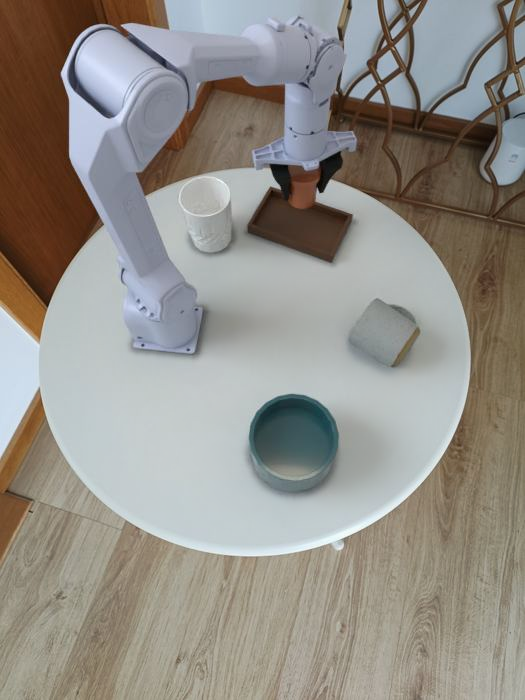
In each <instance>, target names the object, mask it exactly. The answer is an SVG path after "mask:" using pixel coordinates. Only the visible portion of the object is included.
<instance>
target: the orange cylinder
mask: <svg viewBox="0 0 525 700" xmlns="http://www.w3.org/2000/svg"><path fill="white" fill-rule="evenodd" d="M288 170H289V172H290V175H291V179H290V182H289V200H288V201H289V203H290V204H291V205H292V206H293V207H295V208H298V209H306V208H309V207H311V206H312V205H313V204H314V203H315V202H317V201H316V200H317V193H318V188H317V183H318V181H319V180H320V178H321V166H320V164H319V167H318V168H317V169H314V170H309V171H306V170H305V169H304V167H303V166H299V165H288Z"/></svg>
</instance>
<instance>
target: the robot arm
mask: <svg viewBox="0 0 525 700" xmlns="http://www.w3.org/2000/svg"><path fill="white" fill-rule="evenodd" d="M120 27H121V28H123V29H124V30H125V31H126V32H127V34H128V36H126V35H125V34H124V33H123V32H122V31H120V30H119V29H118V28H117V27H115V26H114V25H110V24H105V23H99V24H95V25H92V26H89V27H88V28H86V29H85V30H83V31H82V32H81V33H80V34H79V35H78V36H77V38H76V39H75V40H74V42H73V45H72V47H71V49H70V51H69V54H68V56H67V58H66V60H65V62H64V65H63V67H62V70H61V71H60V77H61V79H62V82H63V85H64V88H65V91H66V94H67V97H68V109H69V110H68V154H69V157H68V158H69V160H70V163H71V165H72V167H73V169H74V171H75V173H76V174H77V176H78V178H79V180H80V182H81V184H82V186H83V188H84V189H85V191H86V193H87V195H88V197H89V200H90V201H91V203H92V205H93V207H94V208H95V210H96V212H97V214H98V216H99V217H100V219H101V221H102V223H103V226H105V229H106V231H107V232H108V235H109V237H110V238H111V240H112V242H113V244H114V246H115V248H116V249H117V251H118V253H119V254H118V255H117V256H116V258H115V260H116V262H117V263H118V279H119V281H120V282H121V283H122V284H123V285H124V286H126V287H127V288H128V289H127V290H126V292H125V295H124V298H123V299H124V300H123V305H122V316H123V321H124V324H125V327H126V328H127V330H128V332H129V333H130V336H131V337H132V339H133V345H132V346H133V348H134V349H136V350H137V349H138V350H147V351H158V352H167V353H176V354H188V355H193V354H195V353H196V350H197V345H198V339H199V335H200V329H201V324H202V319H203V314H204V309H203V307H201V306H195V304H196V301H197V297H198V292H197V288H195V286H193V285H192V284H189V282H188V281H186V278H185V277H184V275H183V274H182V273H181V272H180V270H179V269H178V267H176V265H175V264H174V262H173V261H172V260H171V259H170V256H169V255H168V251H167V249H166V247H165V244H164V241H163V239H162V237H161V234H160V231H159V228H158V226H157V223H156V221H155V219H154V216H153V212H152V211H151V208H150V206H149V203H148V201H147V198H146V196H145V193H144V191H143V187H142V185H141V183H140V180H139V177H138V175H137V173H142V172H143V171H145V169H146V168H147V167H148V165H149V164H150V163H151V162H152V160H153V159H154V158H155V157H156V156H157V154H158V153H159V152H160V150H161V149H162V148H163V147H164V146H165V145H166V143H167V142H168V141H169V139H171V137H172V136H173V135H174V134H175V132H176V131H177V129H178V128H179V127H180V125H181V123H182V122H183V120H184V118H185V116H186V113H187V110H188V111H189V112H191V111H193V110H194V108H195V105H196V100H197V91H198V90H197V89H198V84H199V83H206V82H212V81H218V80H224V79H230V78H237V77H242V78H243V79H244V80H245V82H246V83H248V84H249V85H251V86H253V87H268V86H280V85H284V127H283V128H284V131H283V132H284V136H282V137H280V138H278V139H277V140H274V141H272V142H271V143H269V144H267V145H265V146H263V147H260V148H256V149H252V150H251V153H252V163H253V166H254V169H255V171H262V170H263V169H264V166H268V165H269V168H270V171H271V175H272V177H273V179H274V182H276V183H277V185H278V186H279V187H280V190H281V193H282V196H283V199H284V200H289V182H290V179H291V175H290V172H289V170H288V165H299V166H303V167H304V169H305V170H306V171H309V170H314V169H317V168H318V167H319V164H320V166H321V178H320V180H319V181H318V183H317V192H318V193H319V194H323V193H325V190H326V187H327V186H328V184H329V182H330V180H331V179H332V177H333V176H334V175H335V174H336V173H337V172H338V171H339V170H341V169H342V167H343V163H344V158H343V157H342V151H344V150H346V151H347V153H353V152H356V150H357V144H358V139H357V137H356V135H355V132H354V131H353V130H349V131H333V130H332V131H331V130H328V126H329V118H330V107H331V97H332V96H333V95H334V94H335V90H336V89H337V83H338V79H339V76H340V74H341V73H342V71H343V68H344V66H345V63H346V60H347V53H345V51H344V48H343V45H342V42H341V40H340V39H339V38H338V37H337V36H335V35H333V34H331V33H330V32H328V31H327V30H326V29H324V28H322V27H321V26H319V25H317V24H315V23H314V22H312V21H311V20H310V19H308V18H304V17H302V16H300V15H299V14H296V15H294V16H292V17H291V18H290V19H289V20H287V22H286V23H285V22H283V21H282V20H280V19H278V18H277V17H268V19H267V21H266V23H254V24H250V25H249V26H248V27H246V28H245V29H244V30H243V31H242V33H241V34H240V36H238V35H229V34H228V35H227V34H219V33H217V34H216V33H209V32H196V31H187V30H186V31H185V30H176V29H168V28H162V27H157V26H151V25H145V24H140V23H135V22H129V23H124V24H123V23H122V24H120Z"/></svg>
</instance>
